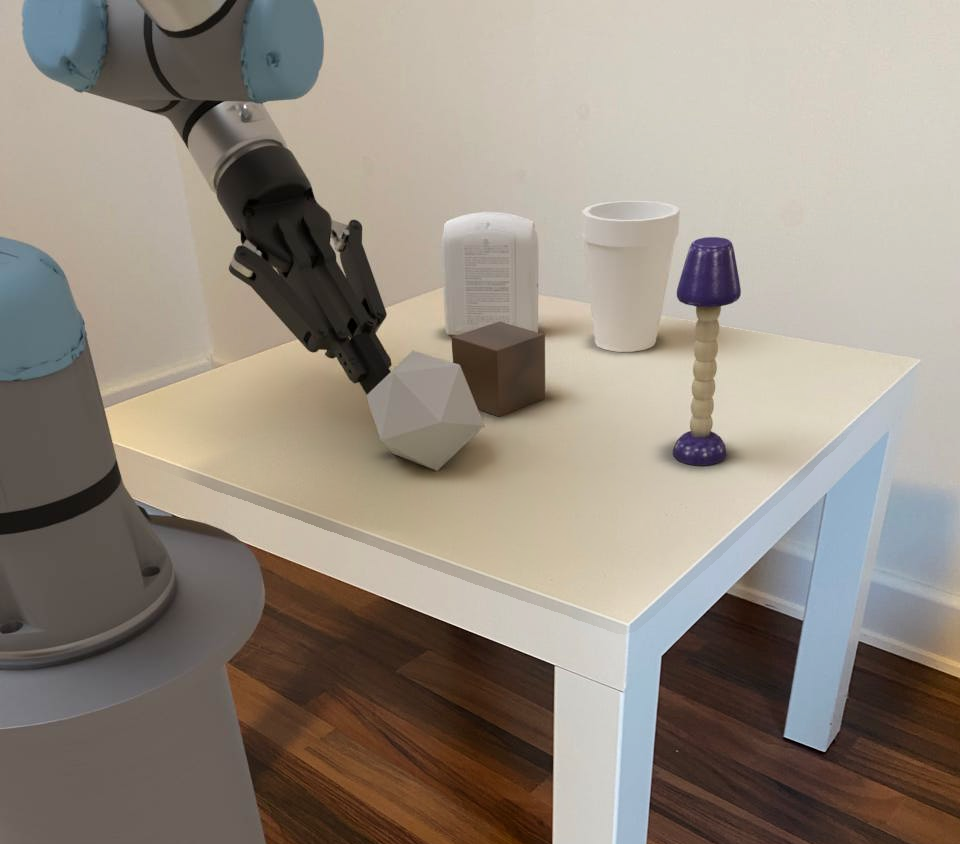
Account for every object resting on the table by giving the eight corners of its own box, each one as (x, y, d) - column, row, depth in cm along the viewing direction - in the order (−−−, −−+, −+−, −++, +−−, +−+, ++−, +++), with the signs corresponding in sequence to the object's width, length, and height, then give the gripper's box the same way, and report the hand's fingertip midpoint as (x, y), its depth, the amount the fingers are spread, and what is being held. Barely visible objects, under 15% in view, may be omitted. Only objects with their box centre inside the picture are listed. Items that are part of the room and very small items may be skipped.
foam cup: (689, 344, 105) (699, 210, 97) (618, 363, 101) (623, 225, 93) (631, 322, 111) (636, 196, 104) (562, 339, 108) (563, 209, 100)
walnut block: (498, 416, 91) (496, 351, 87) (454, 400, 94) (451, 336, 91) (545, 398, 94) (545, 334, 90) (501, 383, 98) (499, 321, 94)
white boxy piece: (541, 327, 111) (540, 207, 104) (536, 339, 108) (535, 217, 101) (449, 326, 113) (442, 208, 106) (442, 338, 109) (434, 217, 103)
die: (504, 463, 84) (481, 346, 84) (462, 450, 76) (436, 320, 76) (415, 488, 87) (392, 376, 88) (364, 479, 79) (340, 354, 79)
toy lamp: (711, 472, 79) (732, 251, 70) (656, 461, 81) (669, 244, 72) (733, 450, 83) (756, 235, 73) (680, 439, 85) (696, 230, 75)
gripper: (194, 152, 79) (346, 408, 78) (329, 129, 86) (470, 364, 85) (175, 215, 86) (316, 452, 85) (302, 189, 93) (433, 408, 92)
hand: (393, 407), depth 85 cm, fingers closed
